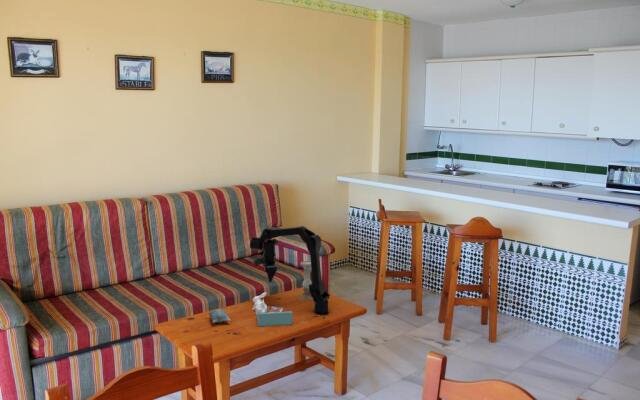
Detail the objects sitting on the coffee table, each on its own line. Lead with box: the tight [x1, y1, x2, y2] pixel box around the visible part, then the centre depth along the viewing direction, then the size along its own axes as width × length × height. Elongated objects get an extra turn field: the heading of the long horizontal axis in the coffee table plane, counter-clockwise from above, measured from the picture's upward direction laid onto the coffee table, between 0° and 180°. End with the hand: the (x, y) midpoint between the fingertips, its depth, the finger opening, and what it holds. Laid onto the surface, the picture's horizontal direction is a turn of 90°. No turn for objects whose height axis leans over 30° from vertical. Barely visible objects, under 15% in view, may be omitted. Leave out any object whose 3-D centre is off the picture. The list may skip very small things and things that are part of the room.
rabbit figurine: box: [251, 291, 268, 314], centre depth 282 cm, size 12×8×10 cm, turn 29°
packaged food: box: [208, 308, 231, 324], centre depth 268 cm, size 9×12×5 cm
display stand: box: [256, 310, 293, 327], centre depth 268 cm, size 16×10×6 cm, turn 100°
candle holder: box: [299, 260, 314, 301], centre depth 302 cm, size 9×9×20 cm
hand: (269, 280), depth 292 cm, fingers open, 7 cm apart
